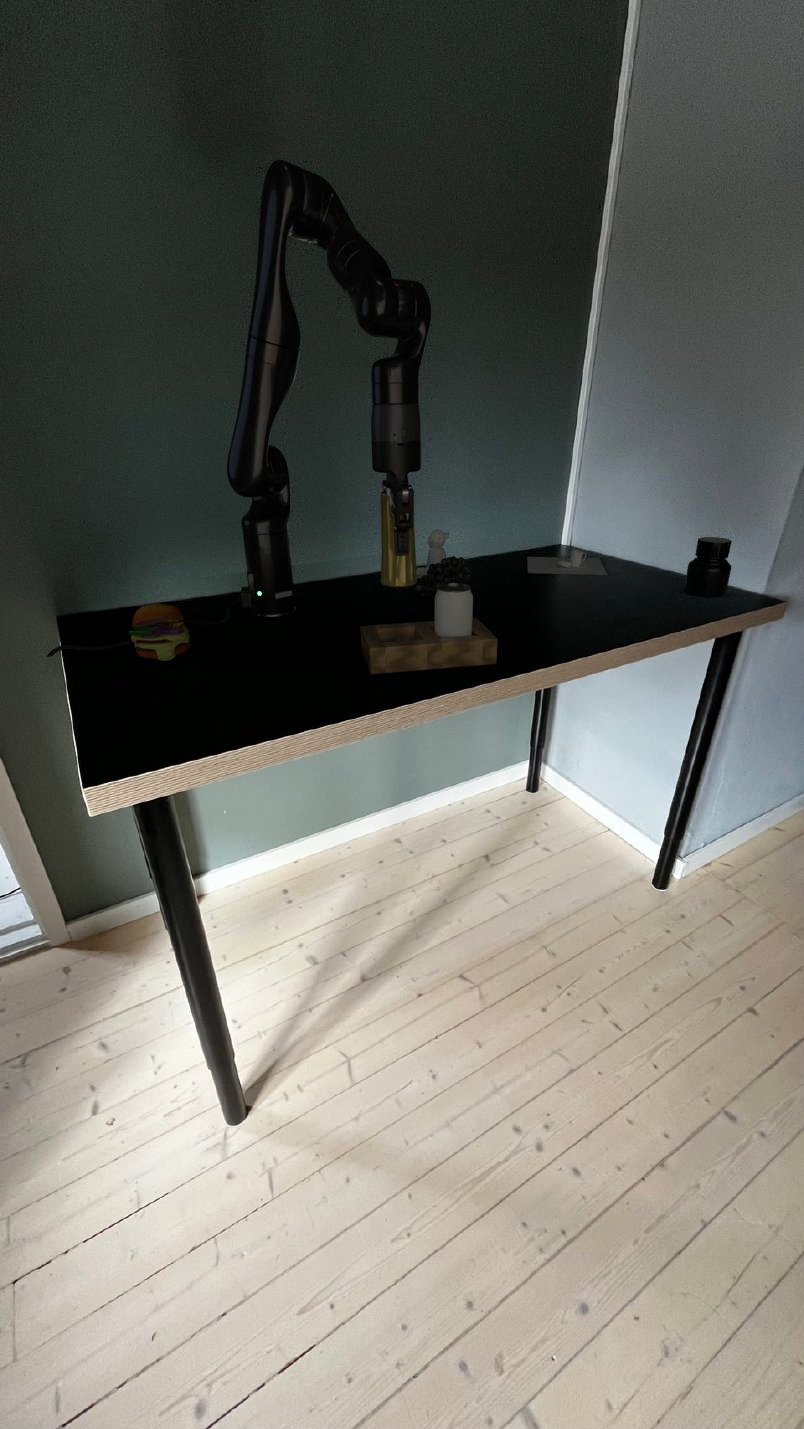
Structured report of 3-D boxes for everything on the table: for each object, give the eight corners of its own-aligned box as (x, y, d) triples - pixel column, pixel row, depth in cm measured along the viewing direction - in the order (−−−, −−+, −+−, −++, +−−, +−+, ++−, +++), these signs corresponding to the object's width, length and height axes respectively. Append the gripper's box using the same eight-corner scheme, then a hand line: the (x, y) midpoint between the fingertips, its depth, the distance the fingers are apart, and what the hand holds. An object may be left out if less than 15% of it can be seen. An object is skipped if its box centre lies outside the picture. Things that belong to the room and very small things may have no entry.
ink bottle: (707, 586, 152) (717, 534, 147) (736, 595, 144) (747, 541, 139) (673, 590, 149) (682, 537, 144) (700, 600, 142) (711, 545, 136)
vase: (404, 589, 102) (403, 495, 96) (373, 584, 105) (369, 493, 99) (424, 581, 107) (424, 490, 101) (393, 576, 110) (391, 488, 103)
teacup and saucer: (557, 569, 169) (559, 554, 167) (556, 563, 176) (557, 548, 174) (592, 570, 168) (593, 555, 166) (589, 563, 175) (590, 548, 173)
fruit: (418, 561, 139) (473, 551, 146) (399, 567, 146) (453, 557, 153) (426, 601, 141) (480, 589, 148) (407, 604, 148) (459, 593, 155)
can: (446, 663, 109) (447, 594, 104) (427, 651, 114) (427, 585, 109) (478, 656, 112) (481, 589, 107) (458, 645, 117) (460, 580, 112)
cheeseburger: (135, 666, 109) (122, 608, 107) (135, 661, 119) (123, 607, 117) (196, 656, 113) (185, 599, 111) (191, 652, 123) (181, 599, 120)
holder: (370, 674, 105) (369, 648, 103) (361, 650, 116) (360, 626, 114) (496, 663, 109) (497, 638, 107) (475, 641, 119) (476, 617, 117)
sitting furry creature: (436, 571, 170) (437, 524, 165) (460, 576, 164) (461, 528, 159) (410, 577, 164) (410, 529, 159) (434, 583, 159) (434, 533, 153)
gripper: (364, 436, 102) (368, 544, 109) (379, 440, 89) (382, 562, 97) (411, 435, 103) (411, 542, 111) (431, 439, 90) (430, 559, 98)
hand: (398, 551), depth 104 cm, fingers closed on vase, 5 cm apart
